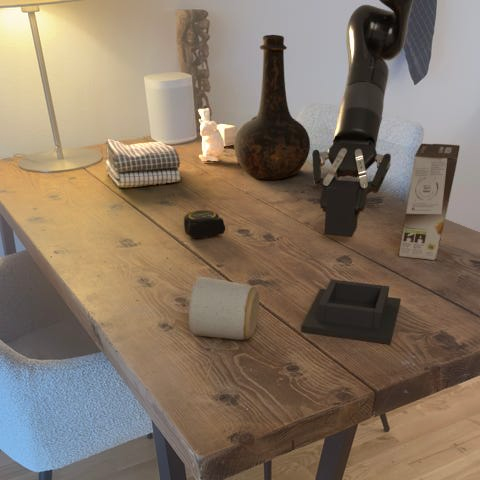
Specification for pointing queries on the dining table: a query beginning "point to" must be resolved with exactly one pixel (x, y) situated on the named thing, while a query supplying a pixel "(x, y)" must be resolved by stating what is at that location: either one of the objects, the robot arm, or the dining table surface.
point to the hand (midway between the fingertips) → (340, 210)
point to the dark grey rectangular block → (341, 208)
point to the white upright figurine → (210, 137)
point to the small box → (227, 133)
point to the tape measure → (203, 224)
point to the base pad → (353, 312)
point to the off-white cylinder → (223, 309)
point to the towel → (142, 163)
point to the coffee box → (428, 200)
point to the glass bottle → (272, 124)
